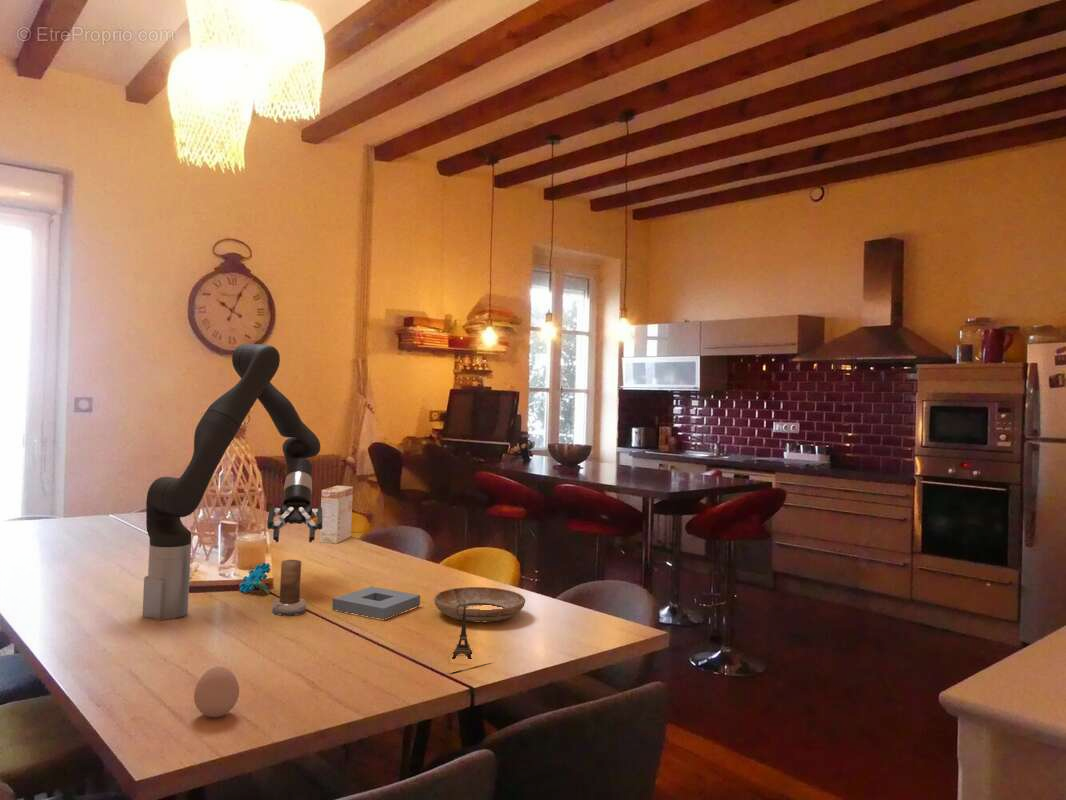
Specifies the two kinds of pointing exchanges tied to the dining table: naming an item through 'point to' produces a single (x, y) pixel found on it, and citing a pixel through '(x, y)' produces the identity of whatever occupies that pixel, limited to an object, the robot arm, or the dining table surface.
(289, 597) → the peg
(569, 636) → the dining table surface
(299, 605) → the pedestal
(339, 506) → the coffeecake box
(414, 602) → the hub block
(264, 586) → the blue flower cluster
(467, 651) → the eiffel tower figurine
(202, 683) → the egg
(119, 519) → the dining table surface
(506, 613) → the ceramic bowl
